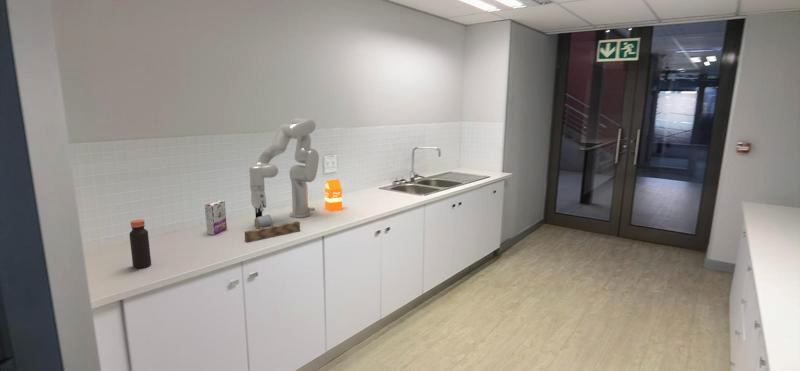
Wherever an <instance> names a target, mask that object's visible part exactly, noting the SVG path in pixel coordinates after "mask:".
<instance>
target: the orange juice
mask: <svg viewBox="0 0 800 371" xmlns="http://www.w3.org/2000/svg"><path fill="white" fill-rule="evenodd" d="M324 209H325V210H326V211H327V212H335V211H336V212H338V211H342V210H343V190H342V185H341V182H340V179H339V178H338V179H328V180H326V183H325V186H324Z"/></svg>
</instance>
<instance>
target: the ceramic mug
mask: <svg viewBox="0 0 800 371" xmlns="http://www.w3.org/2000/svg"><path fill="white" fill-rule="evenodd" d="M273 223H274V222H273V219H272V215H270V214H265V215H262V216H260V217H257V218H256V217H255V219H254V226H255V229H260V228H265V227H270V226H274V224H273Z"/></svg>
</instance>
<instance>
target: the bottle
mask: <svg viewBox="0 0 800 371" xmlns="http://www.w3.org/2000/svg"><path fill="white" fill-rule="evenodd" d="M145 226H146V224H145V220H144V219H133V220H131V221H130V228H131V229H132V230H131V231H130V232H129V242H130V250H131V251H130V253H131V262H132V267H133V268H134V269H139V270H140V269H146V268H148V267H150V266H151V265H152V259H151V258H152V257H151V248H150V239H149V231H148V229H146V228H145Z"/></svg>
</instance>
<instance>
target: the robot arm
mask: <svg viewBox="0 0 800 371" xmlns="http://www.w3.org/2000/svg"><path fill="white" fill-rule="evenodd" d="M315 130H316V123H315V121H314V120H313V119H311V118H303V117H302V118H301V117H296V118H293V119H291V121H290V123H282V124H280V125H279V127H278V129H277V131H276V133H275V136H274V137H273V140H272V142H271V144H270V145H269V147H267V148H266V149H264V150H263V152H262V153H261V154H260V155H259V157H258V159H257V161H256V164H255V165H251V166H250V167H249V168H248V169H249V171H248V172H249V185H250V187H249V188H250V194H251V195H250V200H251V202H250V204H251V206H252V207H253V208H254V212H255V218H257V217H260V216H263V211H264V210H265V208H267V197H266V192H265V179H266V178H267V179H268V178H269V179H270V178H271V179H272V178H274V177H276V176H277V175H278V174H279V168H278V167H277V165H274V164H272V163H271V164H270V162H271V161H272V159H274V158H275V157H277V156H279V155H281V154H283V153H285V152H286V150H287V148H288V145H289V142H290V140H291V139H293V140H295V139H296V145H295V151H294V160H295V162H297V163H299V164H294V165H293V166H291V167H290V169H289V171H288V172H289V178H290V184H291V204H292V206H291V207H292V212H290V214H289V216H290V217H292V218H300V219H301V218H307V217H310V216H311V215H312V214H311V212H312V211H316V207H311V206H310V207H309V201H308V199H309V198H308V184H307V183H311V182H314V181H315V180H316V178H317V173H318V169H319V160H320V156H319V155H320V154H319V152H318V150H317V149H315V148H311V145H312V144H311V143H312V138H311V135H310V134H313V132H314V131H315ZM302 164H305V165H302Z"/></svg>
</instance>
